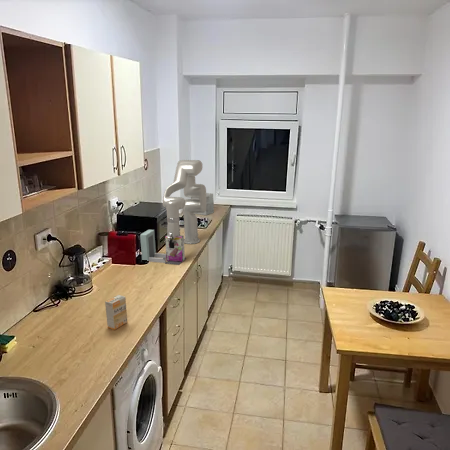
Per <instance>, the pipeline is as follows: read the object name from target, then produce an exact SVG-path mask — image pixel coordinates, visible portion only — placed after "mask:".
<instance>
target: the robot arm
mask: <svg viewBox="0 0 450 450" xmlns="http://www.w3.org/2000/svg"><path fill="white" fill-rule="evenodd" d="M202 170H203V163H202V161H201V160H198V159H182V160H179V161H178V162H177V164H176V168H175V173H174V176H173V177H174V178H173V182H172V183H171V184H170V185H168V186H167V188H166V189H165V190H164V193H163V197H162V207H163V208H165V209H166V219H167V221H166V222H167V226H166V227H167V228H166V231H167V235H166V236H167V237H168V241H169V248H174V242H173V241H174V239H175V238H176V237H177V236H178V235H181V228H180V210H182V212H183V227H184V230H183V231H184V244H187V245H193V244H194V245H195V244H198V243H200V242H201V239H200V238H199V232H198V231H199V230H198V217H197V214H194V213H204V212H205V211H206V193H207V188H206V186H205V184H201V183H196V176H198V175H199V174H200V173H201V172H202ZM182 189H183V194H184V197H186V198H187V199H185V198H184V197H181V196H171V195H172V194H174V193H175V192H178V191H179V190H182ZM191 197H196V198H199V199H191Z"/></svg>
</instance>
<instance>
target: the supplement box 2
mask: <svg viewBox="0 0 450 450" xmlns="http://www.w3.org/2000/svg"><path fill="white" fill-rule="evenodd" d="M190 199H199V198H196V197H190ZM214 208H215V207H214V193H209V192H206V211H205V212H204V213H194V214H195V215H201V216H208V215H211V214H213V213H214V212H215V210H214Z"/></svg>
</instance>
